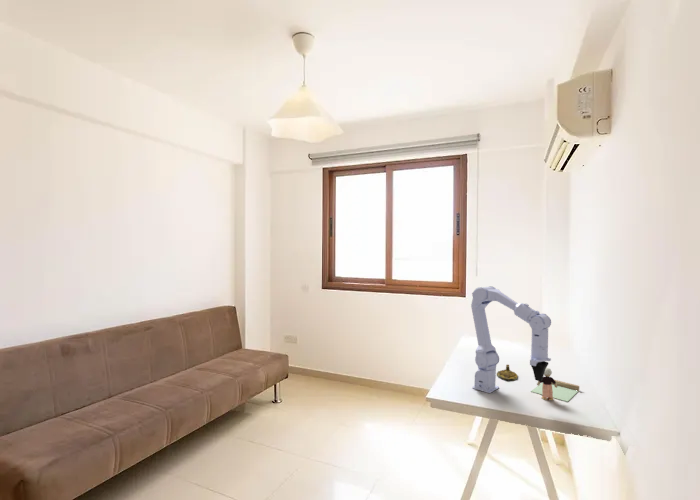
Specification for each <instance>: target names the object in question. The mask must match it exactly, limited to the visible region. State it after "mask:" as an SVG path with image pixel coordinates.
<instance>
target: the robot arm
mask: <svg viewBox="0 0 700 500" xmlns="http://www.w3.org/2000/svg"><path fill="white" fill-rule="evenodd" d="M471 295H472V301H471V304H470V305H471V306H470V307H471V312H472V318H473V323H474V328H475V335H476V340H477V348H476V349H475V357H474V358H475V359H474V361H475V364H476V366H477V371H476V372H475V373H474V385H473V386H472V389H475V390H478V391H482V392H485V393H487V394H491V393H492V392H494V391H496V390H498V389H499V388H500V386H498V385H496V383H497V381H496V380H497V379H496V377H497V365H498V364H499V363H500V356H499V353H497V350H496V347H495V346H494V345H493V344H492V339H491V335H490V330H489V326H488V325H489V324H488V319H487V313H486V307H487V306H488V305H489V304H490V303H492V302H498V303H500V304H502V305H503V306H505V307H506V308H509V309H510V310H512V311H513V313H514V316H516V317H518V318H520V319H521V320H522V321H524V322H526V323H527V324H529V327H530V328H531V345H530V346H531V347H530V348H531V349H530V350H531V351H530V352H531V353H530V359H529V366H531V369H532V371H533V372H532V373H533V377H534V380H535V381H537V382H538V381H542V379H543V377H545V375H544V372H545V369H546V368H548V366H549V362H551V361H552V358H550V357H549V352H548V350H549V328H550V327H551V325H552V319H551V318H550V317H549V316H548V315H547V314H546V313H540V311H539V310H535V309H533V308H532V307H530V306H529V304H528V303H523V302H521V303H518V302H517V301H515V300H513V299H512V298H511V297H509V296H508V295H507V294H505V293H503V292H502V291H501V290H500V289H498V288H496V287H494V286H484V287H483V286H478V287H476V288H475V289H474V290H473V292H472V293H471Z"/></svg>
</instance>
